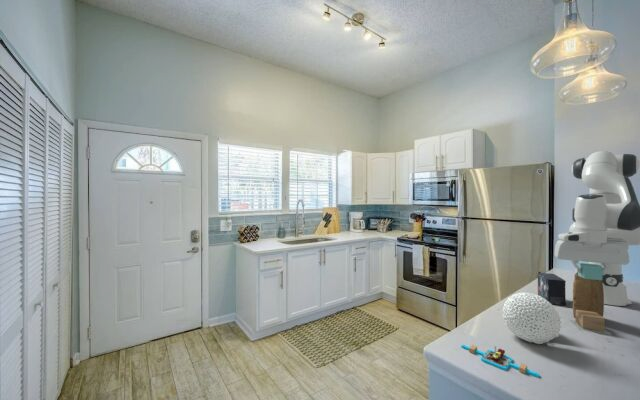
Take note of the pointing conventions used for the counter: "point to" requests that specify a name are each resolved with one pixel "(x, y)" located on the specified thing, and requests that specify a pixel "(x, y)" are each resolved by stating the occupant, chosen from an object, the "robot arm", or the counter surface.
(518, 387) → the counter surface
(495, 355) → the gear mechanism
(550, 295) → the small box
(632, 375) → the counter surface
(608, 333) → the square tile
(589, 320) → the walnut base block
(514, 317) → the white coral
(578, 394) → the counter surface
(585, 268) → the teal cube
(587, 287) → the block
